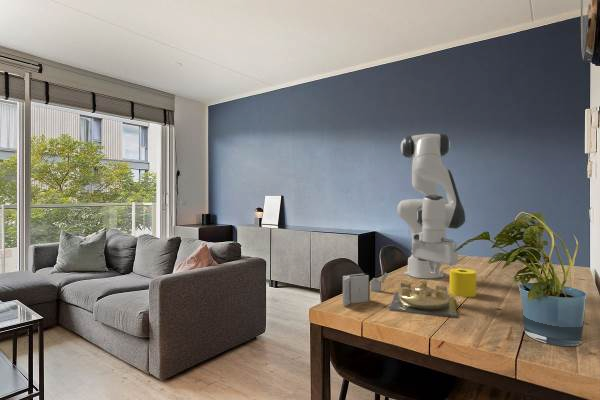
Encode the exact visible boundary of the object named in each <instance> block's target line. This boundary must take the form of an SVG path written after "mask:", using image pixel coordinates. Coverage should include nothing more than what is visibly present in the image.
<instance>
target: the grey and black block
mask: <svg viewBox="0 0 600 400" xmlns="http://www.w3.org/2000/svg"><path fill="white" fill-rule="evenodd" d="M370 291H371V279H370V274H368V273H358V274H357V273H356V274H348V275H343V276H342V307H344V308H345V307H347V306H349V305H350V304H357V303H363V302H369V301H370V298H371V297H370V295H371V294H370V293H371V292H370Z"/></svg>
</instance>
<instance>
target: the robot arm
mask: <svg viewBox="0 0 600 400" xmlns="http://www.w3.org/2000/svg"><path fill="white" fill-rule="evenodd" d="M450 148H451V141H450V138H449V136H448V134H445V133H424V134H416V135H407V136H404V137H403V139H402V141H401V142H400V151H401V153H402V156H404V158H409V159H411V158H412V164H411V186H412V188H413V189H414V190H415V191H416V192H419V193H421V194H422V195H424V197H423V198H409V199H408V198H407V199H404V200H403V199H402V200H400V202H399V203H398V205H397V207H396V208H397V209H396V211H397V212H396V213H397V214H398V217H400V219H402V220H403V221H404V222H405V223H406V224H407V225H408V228H409V229H410V233H411V249H410V254H411V255H410V256H409V257H408V259H407V270H406V271H404V272H403V274H404V275H405V276H409V277H413V278H416V279H417V278H418V279H438V278H444V274H443V273H442V272H441V271H440V269H441V265H449V266H455V265H457V264H458V262H459V256H458V248H457V243H456V241H454V240H453V239H452V238H451V239H450V238H449V239H448V238H447V228H448V229H457V230H458V229H459V228H461V227H462V226H464V224H465V222H466V212H465V209H464V206H463V204H462V202H461V199H460V195H459V192H458V189H457V186H456V182H455V180H454V179H455V178H454V176H453V173H452V171H451V170H450V169H448V168H446V167H445V165H444V164H443V162H442V157H444V156H446V154H448V153H449V151H450ZM437 185H439V186H440V187H442V188H443V190H444V193H445V195H446V199H445V198H444V196H442V195H441V194H440V193H439V191H438V187H437ZM456 249H457V251H455V250H456ZM454 251H455V252H454Z"/></svg>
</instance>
